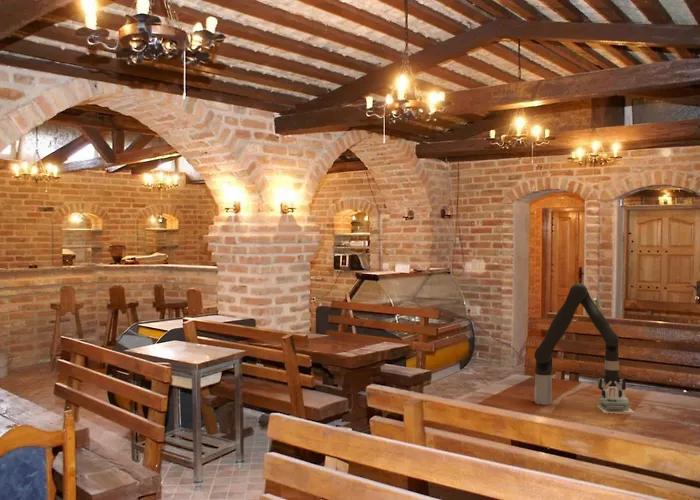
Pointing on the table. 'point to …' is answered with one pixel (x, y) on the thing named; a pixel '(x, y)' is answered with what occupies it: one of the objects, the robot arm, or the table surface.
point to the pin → (612, 394)
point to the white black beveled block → (615, 394)
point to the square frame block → (614, 406)
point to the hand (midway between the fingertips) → (611, 397)
